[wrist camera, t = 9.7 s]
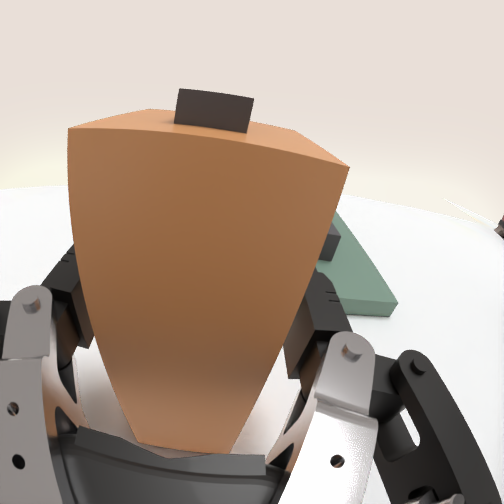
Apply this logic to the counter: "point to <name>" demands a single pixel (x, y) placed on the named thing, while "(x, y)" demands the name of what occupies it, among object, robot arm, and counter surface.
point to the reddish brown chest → (500, 228)
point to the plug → (195, 257)
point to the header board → (354, 273)
